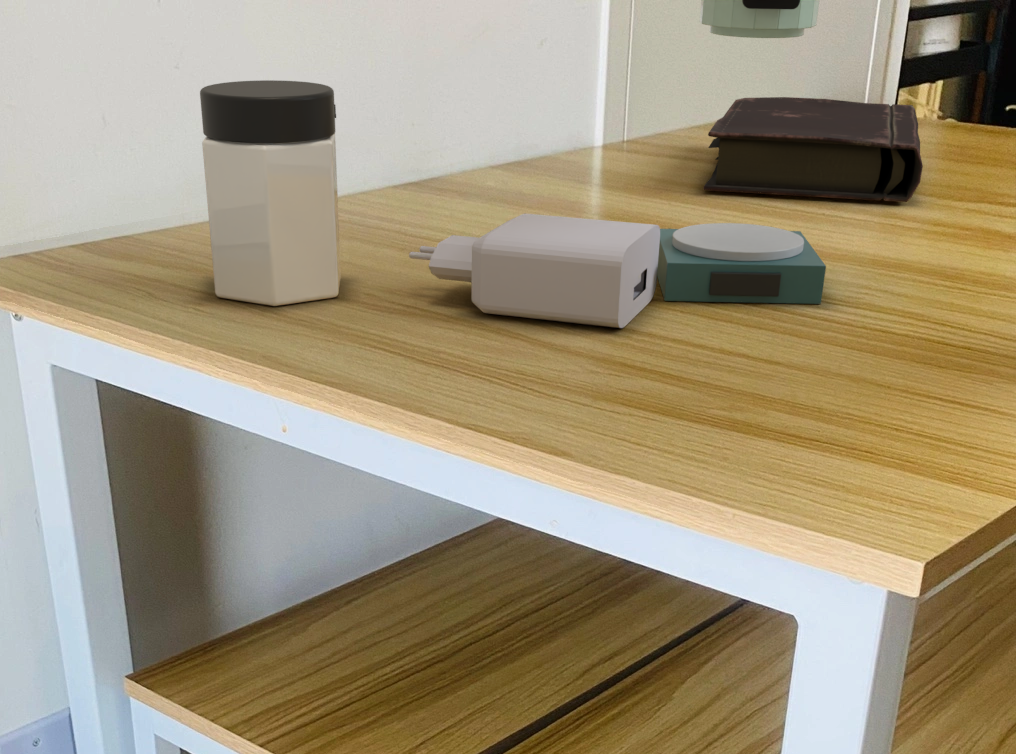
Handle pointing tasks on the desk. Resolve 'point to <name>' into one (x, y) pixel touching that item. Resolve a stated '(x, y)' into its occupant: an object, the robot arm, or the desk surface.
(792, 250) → the scale
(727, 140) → the diary
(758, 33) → the cup
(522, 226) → the charger
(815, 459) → the desk surface
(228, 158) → the jar
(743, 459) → the desk surface
